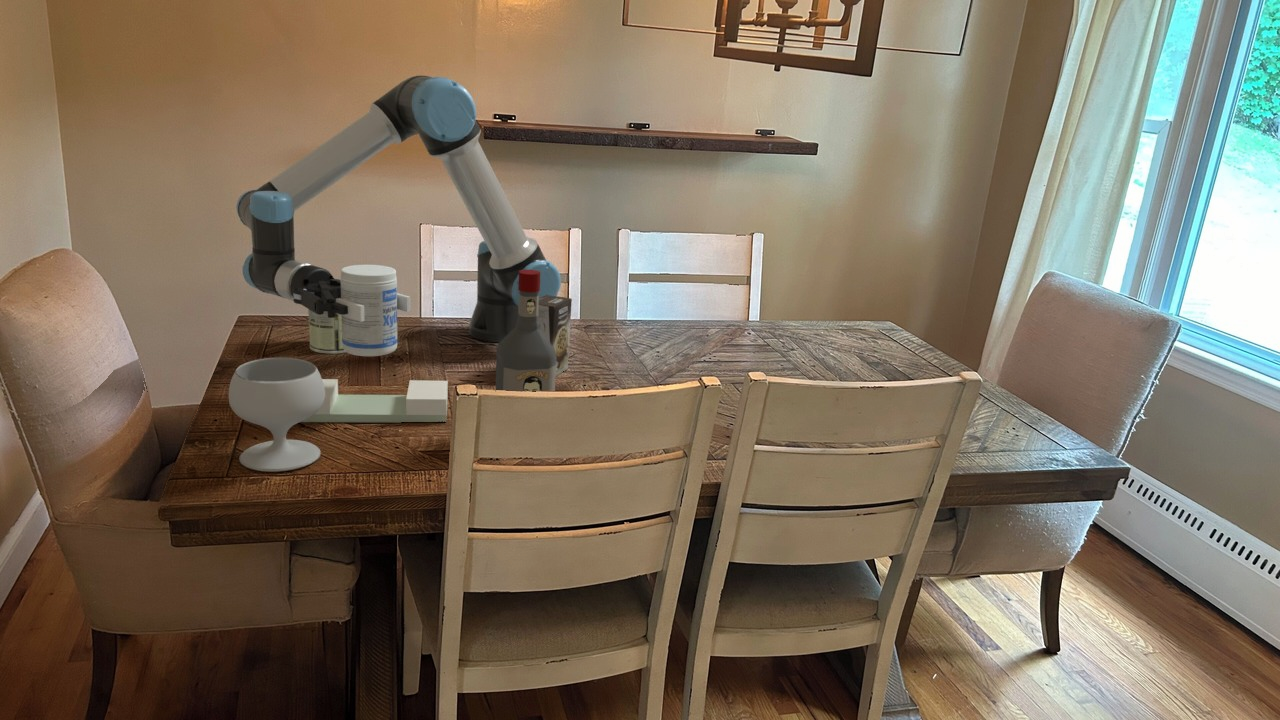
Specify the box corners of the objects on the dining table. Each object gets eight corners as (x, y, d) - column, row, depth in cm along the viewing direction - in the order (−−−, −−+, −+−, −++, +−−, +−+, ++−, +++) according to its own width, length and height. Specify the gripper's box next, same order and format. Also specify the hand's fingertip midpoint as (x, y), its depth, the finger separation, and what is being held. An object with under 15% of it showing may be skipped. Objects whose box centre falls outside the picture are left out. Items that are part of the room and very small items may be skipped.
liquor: (491, 430, 160) (496, 266, 151) (541, 426, 164) (548, 265, 155) (503, 450, 152) (509, 278, 143) (555, 446, 156) (564, 278, 147)
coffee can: (321, 338, 203) (319, 277, 199) (365, 343, 203) (364, 282, 198) (300, 351, 194) (297, 288, 189) (346, 356, 193) (345, 292, 189)
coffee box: (551, 381, 188) (554, 306, 183) (523, 375, 190) (526, 301, 185) (569, 369, 196) (573, 297, 191) (542, 364, 198) (545, 293, 193)
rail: (447, 402, 171) (447, 380, 170) (446, 422, 162) (446, 399, 161) (298, 401, 166) (298, 378, 165) (288, 422, 157) (287, 397, 156)
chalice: (227, 479, 135) (220, 385, 130) (238, 442, 147) (232, 355, 143) (325, 473, 139) (322, 383, 134) (328, 438, 152) (325, 354, 147)
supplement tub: (396, 358, 157) (396, 276, 153) (339, 358, 155) (337, 275, 150) (398, 342, 166) (397, 264, 162) (344, 341, 164) (342, 262, 159)
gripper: (355, 295, 177) (433, 318, 165) (253, 313, 160) (333, 341, 148) (354, 257, 175) (434, 279, 163) (251, 272, 157) (332, 297, 146)
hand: (386, 308), depth 156 cm, fingers closed on supplement tub, 9 cm apart
